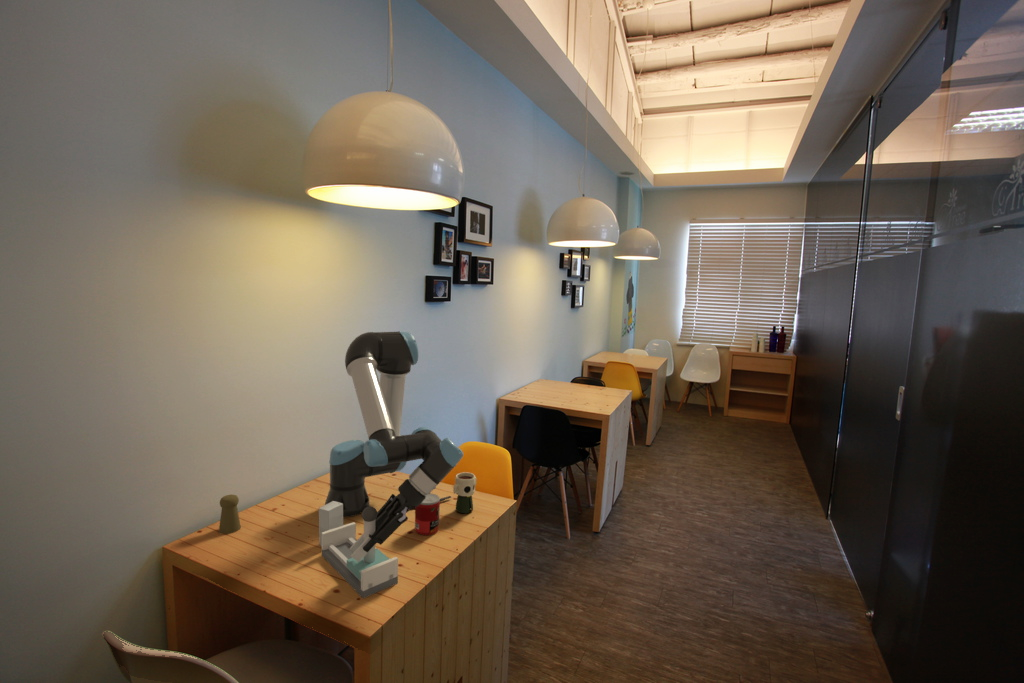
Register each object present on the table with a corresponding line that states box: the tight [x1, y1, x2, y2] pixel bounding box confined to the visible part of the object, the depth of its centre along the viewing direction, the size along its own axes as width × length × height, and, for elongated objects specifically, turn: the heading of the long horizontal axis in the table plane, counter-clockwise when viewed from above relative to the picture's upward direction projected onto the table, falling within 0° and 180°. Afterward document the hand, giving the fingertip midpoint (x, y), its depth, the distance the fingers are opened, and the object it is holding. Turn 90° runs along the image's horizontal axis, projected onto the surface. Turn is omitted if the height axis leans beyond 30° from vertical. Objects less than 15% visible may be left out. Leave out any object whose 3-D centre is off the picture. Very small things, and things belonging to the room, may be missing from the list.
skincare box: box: [318, 501, 344, 547], centre depth 146 cm, size 6×4×12 cm
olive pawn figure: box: [218, 494, 242, 535], centre depth 151 cm, size 6×6×11 cm
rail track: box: [321, 521, 399, 599], centre depth 133 cm, size 26×10×7 cm, turn 44°
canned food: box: [414, 492, 441, 536], centre depth 156 cm, size 8×8×11 cm
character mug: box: [452, 471, 477, 514], centre depth 171 cm, size 11×7×13 cm, turn 139°
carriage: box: [347, 505, 390, 580], centre depth 128 cm, size 8×9×17 cm
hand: (354, 554), depth 127 cm, fingers closed on carriage, 3 cm apart
